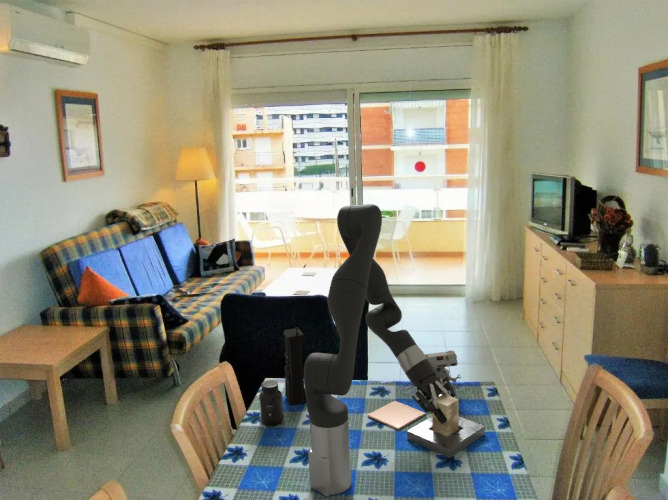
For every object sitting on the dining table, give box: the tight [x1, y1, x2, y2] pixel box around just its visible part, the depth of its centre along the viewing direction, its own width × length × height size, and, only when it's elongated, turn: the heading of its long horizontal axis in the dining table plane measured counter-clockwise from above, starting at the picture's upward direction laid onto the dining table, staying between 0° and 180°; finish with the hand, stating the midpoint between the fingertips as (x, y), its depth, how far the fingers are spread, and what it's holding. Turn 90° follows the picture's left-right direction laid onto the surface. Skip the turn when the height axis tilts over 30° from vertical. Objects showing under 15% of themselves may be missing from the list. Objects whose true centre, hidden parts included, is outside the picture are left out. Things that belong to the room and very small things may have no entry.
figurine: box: [424, 350, 462, 394], centre depth 185 cm, size 9×12×15 cm
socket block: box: [406, 416, 486, 459], centre depth 163 cm, size 16×14×2 cm
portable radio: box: [283, 326, 307, 406], centre depth 188 cm, size 8×6×25 cm
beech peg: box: [431, 395, 460, 438], centre depth 162 cm, size 5×5×9 cm
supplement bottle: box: [258, 380, 285, 428], centre depth 176 cm, size 7×7×12 cm
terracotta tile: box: [367, 400, 426, 431], centre depth 177 cm, size 12×12×1 cm
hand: (451, 418), depth 161 cm, fingers closed on beech peg, 5 cm apart
